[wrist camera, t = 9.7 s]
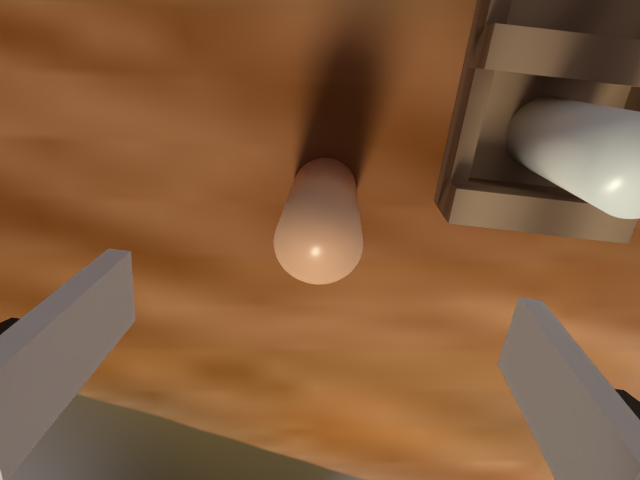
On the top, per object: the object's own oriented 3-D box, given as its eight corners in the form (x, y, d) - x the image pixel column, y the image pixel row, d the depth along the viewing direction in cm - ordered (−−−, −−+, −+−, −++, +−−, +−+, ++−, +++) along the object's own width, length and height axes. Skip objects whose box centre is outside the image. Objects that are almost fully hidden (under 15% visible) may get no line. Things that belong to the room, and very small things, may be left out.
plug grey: (497, 164, 26) (574, 213, 18) (516, 92, 24) (609, 110, 16) (565, 171, 26) (673, 223, 18) (587, 100, 24) (717, 121, 16)
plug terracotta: (291, 214, 29) (271, 279, 21) (296, 154, 27) (276, 197, 19) (351, 221, 29) (356, 288, 21) (360, 161, 27) (369, 207, 19)
